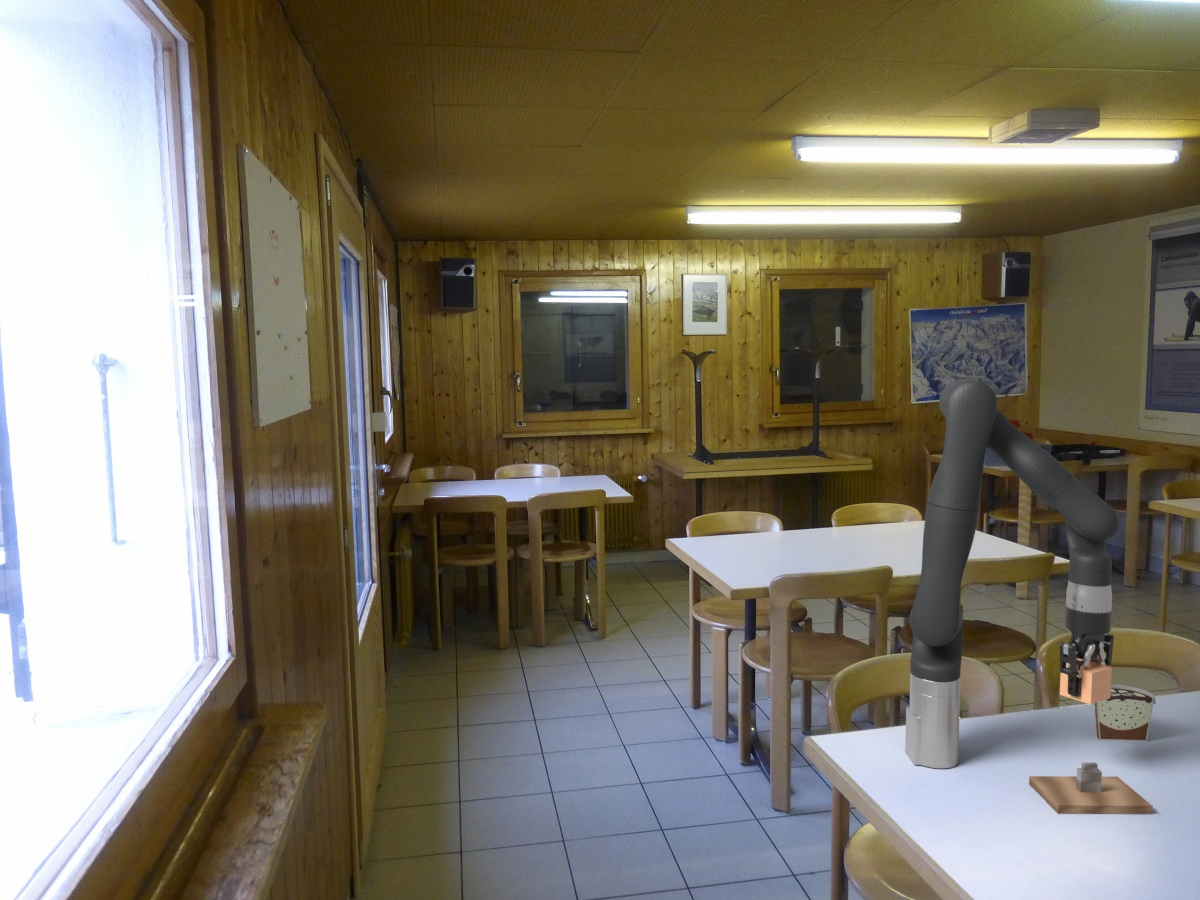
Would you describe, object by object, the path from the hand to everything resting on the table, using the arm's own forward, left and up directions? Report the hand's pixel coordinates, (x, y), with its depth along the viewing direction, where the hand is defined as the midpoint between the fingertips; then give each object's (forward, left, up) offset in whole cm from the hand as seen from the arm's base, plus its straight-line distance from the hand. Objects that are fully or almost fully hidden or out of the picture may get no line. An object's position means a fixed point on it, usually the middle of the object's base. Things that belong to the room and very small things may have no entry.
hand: (1085, 691), depth 166 cm
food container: (+16, +17, -16) cm, 28 cm away
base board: (-4, -11, -16) cm, 20 cm away
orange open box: (0, 0, -1) cm, 1 cm away
